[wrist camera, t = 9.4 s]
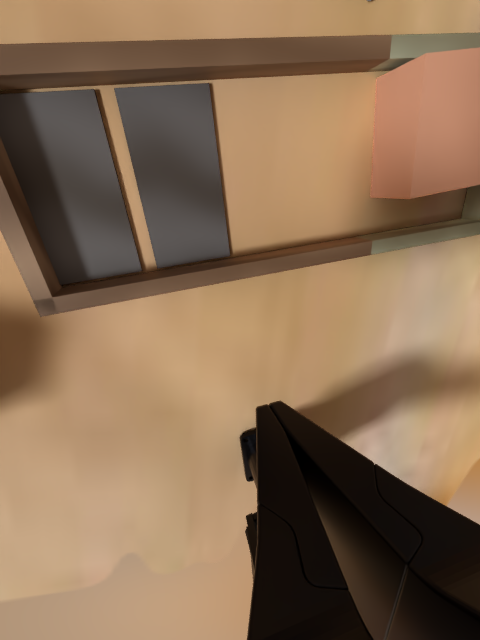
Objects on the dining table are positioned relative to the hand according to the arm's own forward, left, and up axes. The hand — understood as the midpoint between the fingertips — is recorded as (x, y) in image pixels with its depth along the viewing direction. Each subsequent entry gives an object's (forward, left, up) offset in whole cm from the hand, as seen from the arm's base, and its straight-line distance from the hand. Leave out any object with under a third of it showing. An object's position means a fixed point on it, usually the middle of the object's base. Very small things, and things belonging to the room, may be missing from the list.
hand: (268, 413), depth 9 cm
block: (+8, -16, -13) cm, 23 cm away
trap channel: (+7, -7, -13) cm, 16 cm away
